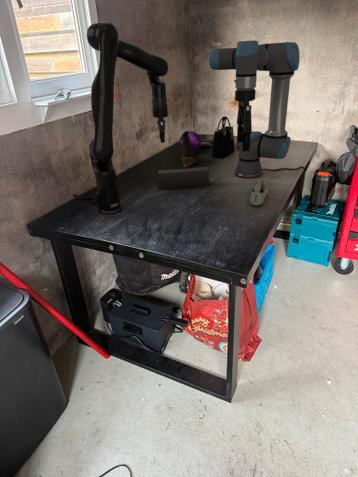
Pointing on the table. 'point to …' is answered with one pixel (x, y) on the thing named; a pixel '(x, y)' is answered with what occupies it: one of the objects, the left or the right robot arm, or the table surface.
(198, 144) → the decorative orb
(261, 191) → the ballet flat
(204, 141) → the pair of gloves
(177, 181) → the bar
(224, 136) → the handbag
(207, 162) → the table surface
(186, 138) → the boot
